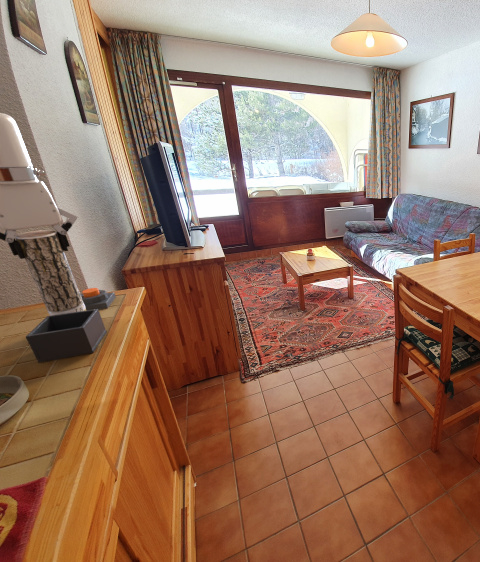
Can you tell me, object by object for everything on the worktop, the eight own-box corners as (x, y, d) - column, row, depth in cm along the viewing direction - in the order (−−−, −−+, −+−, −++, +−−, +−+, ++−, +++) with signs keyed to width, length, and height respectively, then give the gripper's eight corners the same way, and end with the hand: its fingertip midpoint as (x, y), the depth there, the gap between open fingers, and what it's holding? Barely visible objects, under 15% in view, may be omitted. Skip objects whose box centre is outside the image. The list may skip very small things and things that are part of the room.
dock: (38, 363, 68) (25, 336, 65) (58, 340, 76) (47, 315, 73) (93, 352, 71) (83, 327, 69) (106, 332, 79) (98, 308, 77)
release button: (82, 299, 89) (79, 293, 89) (86, 294, 92) (84, 288, 92) (97, 297, 91) (95, 291, 90) (101, 292, 94) (99, 287, 93)
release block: (73, 313, 88) (68, 302, 87) (83, 301, 95) (79, 291, 93) (107, 308, 91) (104, 297, 90) (115, 297, 98) (112, 287, 96)
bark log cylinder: (55, 335, 78) (11, 238, 68) (57, 324, 82) (17, 232, 73) (90, 326, 82) (54, 234, 72) (91, 316, 86) (57, 228, 77)
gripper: (61, 173, 76) (85, 243, 83) (-55, 176, 63) (-14, 259, 70) (69, 175, 72) (95, 248, 79) (-52, 179, 59) (-9, 266, 66)
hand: (43, 253), depth 74 cm, fingers closed on bark log cylinder, 6 cm apart
